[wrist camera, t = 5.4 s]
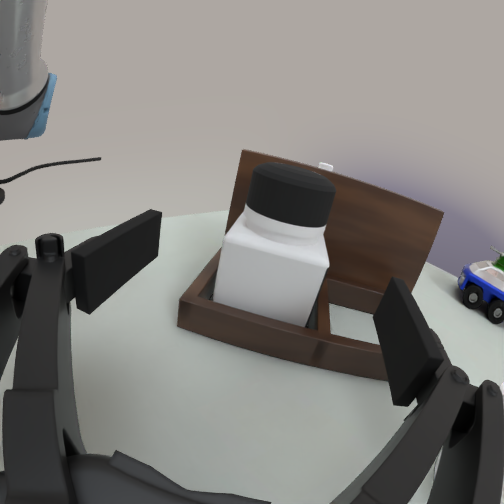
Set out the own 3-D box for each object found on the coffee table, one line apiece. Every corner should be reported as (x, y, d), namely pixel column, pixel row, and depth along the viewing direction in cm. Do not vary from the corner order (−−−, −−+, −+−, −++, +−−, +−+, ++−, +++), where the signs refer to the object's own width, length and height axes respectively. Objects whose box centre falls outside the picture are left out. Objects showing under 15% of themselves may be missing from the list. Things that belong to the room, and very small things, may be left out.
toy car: (454, 282, 42) (475, 234, 38) (504, 311, 35) (527, 264, 31) (450, 297, 35) (476, 240, 31) (507, 332, 28) (537, 276, 24)
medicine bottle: (299, 346, 21) (355, 191, 16) (207, 322, 21) (238, 160, 16) (300, 298, 27) (339, 175, 23) (228, 279, 28) (255, 153, 23)
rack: (425, 386, 18) (503, 253, 13) (176, 326, 20) (199, 155, 15) (397, 311, 29) (440, 210, 24) (221, 263, 31) (244, 149, 26)
